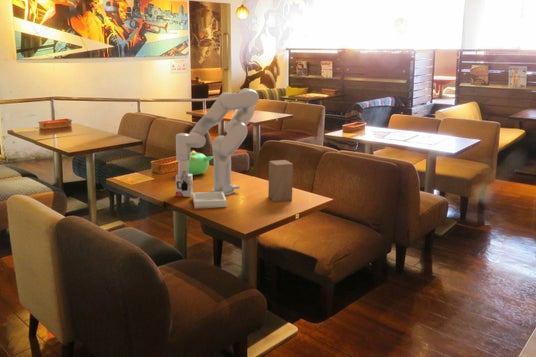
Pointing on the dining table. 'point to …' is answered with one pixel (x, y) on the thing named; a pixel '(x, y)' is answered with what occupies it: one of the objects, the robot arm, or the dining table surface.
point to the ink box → (179, 189)
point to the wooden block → (280, 180)
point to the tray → (209, 199)
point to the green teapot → (198, 163)
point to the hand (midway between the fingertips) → (184, 188)
